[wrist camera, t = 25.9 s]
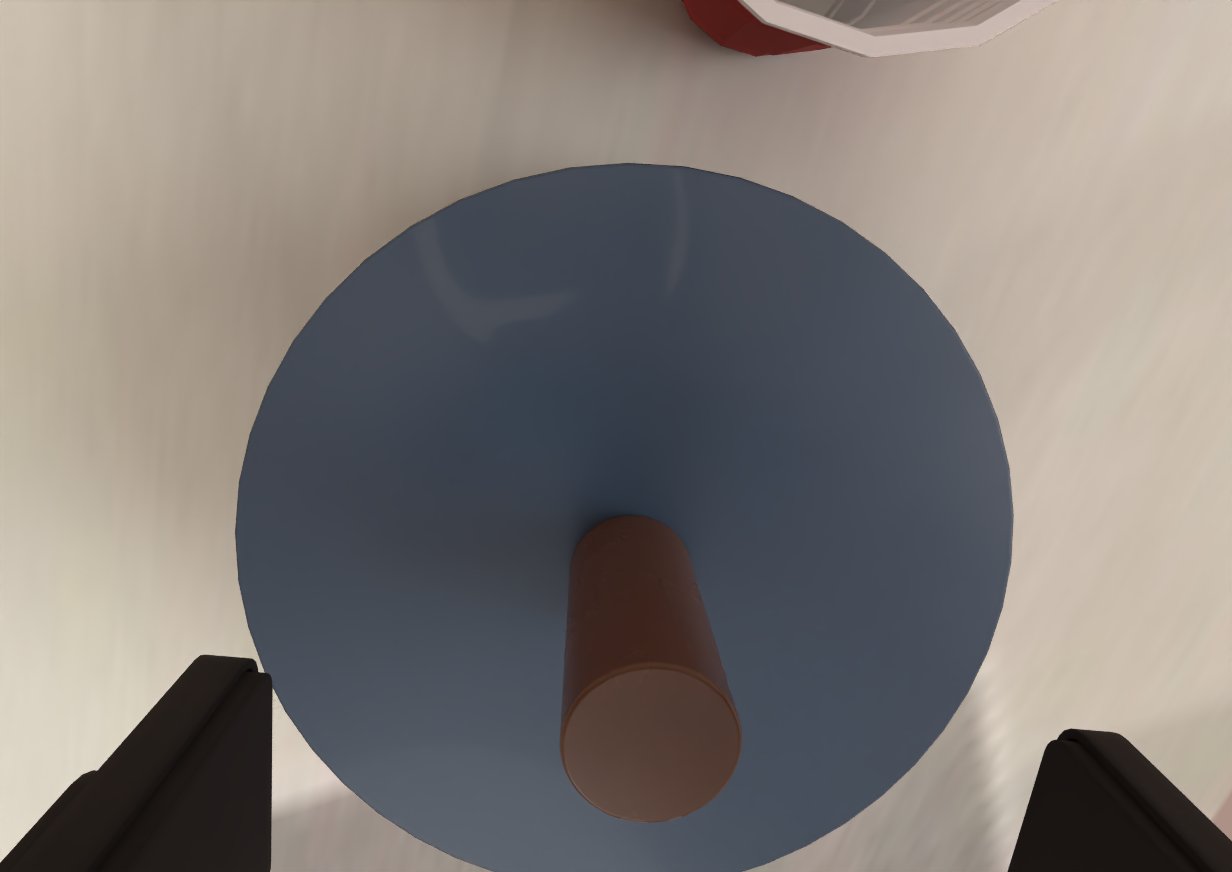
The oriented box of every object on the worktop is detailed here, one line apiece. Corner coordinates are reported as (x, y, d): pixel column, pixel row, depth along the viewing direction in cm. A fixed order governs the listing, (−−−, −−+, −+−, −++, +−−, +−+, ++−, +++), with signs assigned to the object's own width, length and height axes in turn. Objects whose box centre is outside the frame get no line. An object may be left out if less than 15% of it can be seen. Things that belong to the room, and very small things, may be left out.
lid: (261, 116, 16) (-1, 25, 9) (1069, 221, 17) (1411, 214, 10) (253, 827, 20) (70, 1153, 13) (904, 877, 21) (1064, 1204, 14)
